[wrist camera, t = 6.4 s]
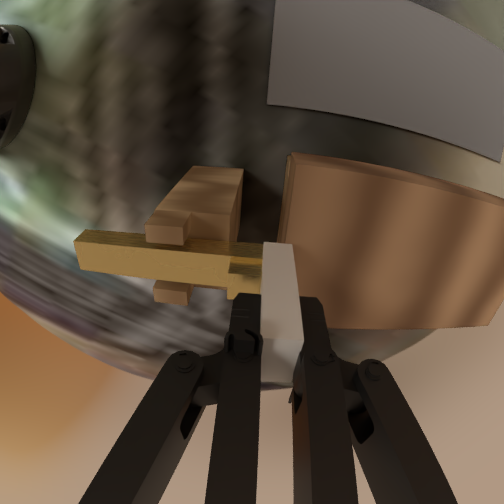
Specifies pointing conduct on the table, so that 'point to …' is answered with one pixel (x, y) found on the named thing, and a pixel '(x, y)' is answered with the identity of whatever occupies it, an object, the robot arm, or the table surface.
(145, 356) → the table surface
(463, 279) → the lid
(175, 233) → the toolbox
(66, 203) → the table surface
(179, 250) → the key
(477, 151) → the felt mat
